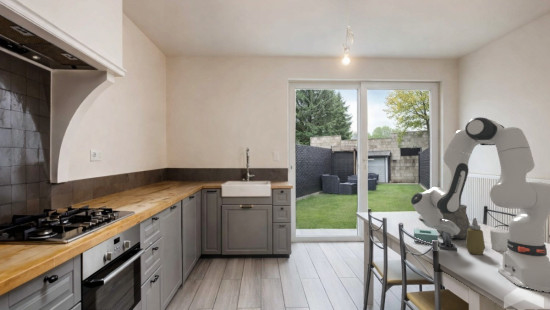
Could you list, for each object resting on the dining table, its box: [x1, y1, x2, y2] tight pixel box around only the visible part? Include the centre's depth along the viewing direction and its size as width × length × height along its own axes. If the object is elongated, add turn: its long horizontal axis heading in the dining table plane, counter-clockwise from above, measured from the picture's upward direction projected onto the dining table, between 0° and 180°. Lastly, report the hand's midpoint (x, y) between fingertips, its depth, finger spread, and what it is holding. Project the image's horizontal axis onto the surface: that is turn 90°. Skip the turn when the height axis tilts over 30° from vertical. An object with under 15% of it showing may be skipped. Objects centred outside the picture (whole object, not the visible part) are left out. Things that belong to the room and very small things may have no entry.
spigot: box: [442, 231, 453, 247], centre depth 153 cm, size 4×4×14 cm
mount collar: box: [437, 241, 458, 252], centre depth 153 cm, size 8×8×2 cm
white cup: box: [489, 228, 509, 253], centre depth 150 cm, size 8×8×10 cm
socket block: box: [413, 228, 439, 244], centre depth 167 cm, size 12×12×5 cm
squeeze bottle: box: [465, 217, 486, 256], centre depth 145 cm, size 8×8×18 cm
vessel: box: [435, 203, 471, 240], centre depth 174 cm, size 22×22×20 cm
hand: (448, 234), depth 154 cm, fingers closed on spigot, 4 cm apart
